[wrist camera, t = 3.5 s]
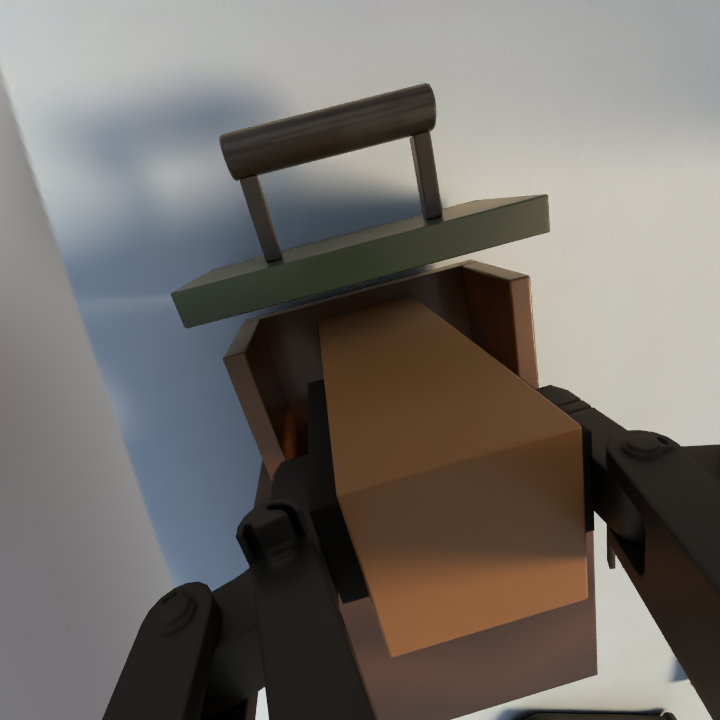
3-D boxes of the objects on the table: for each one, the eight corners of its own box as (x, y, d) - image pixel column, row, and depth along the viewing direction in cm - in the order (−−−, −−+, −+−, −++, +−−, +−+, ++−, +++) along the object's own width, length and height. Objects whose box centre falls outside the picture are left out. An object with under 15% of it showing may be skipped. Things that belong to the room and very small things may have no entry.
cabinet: (266, 434, 22) (246, 540, 15) (501, 369, 22) (591, 441, 15) (334, 612, 27) (344, 753, 20) (523, 557, 28) (598, 675, 21)
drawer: (173, 168, 16) (106, 145, 11) (463, 94, 17) (539, 37, 11) (299, 503, 23) (296, 593, 17) (506, 444, 23) (567, 514, 18)
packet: (317, 320, 18) (336, 495, 7) (412, 294, 18) (583, 424, 7) (342, 406, 20) (389, 660, 8) (429, 382, 20) (589, 600, 9)
